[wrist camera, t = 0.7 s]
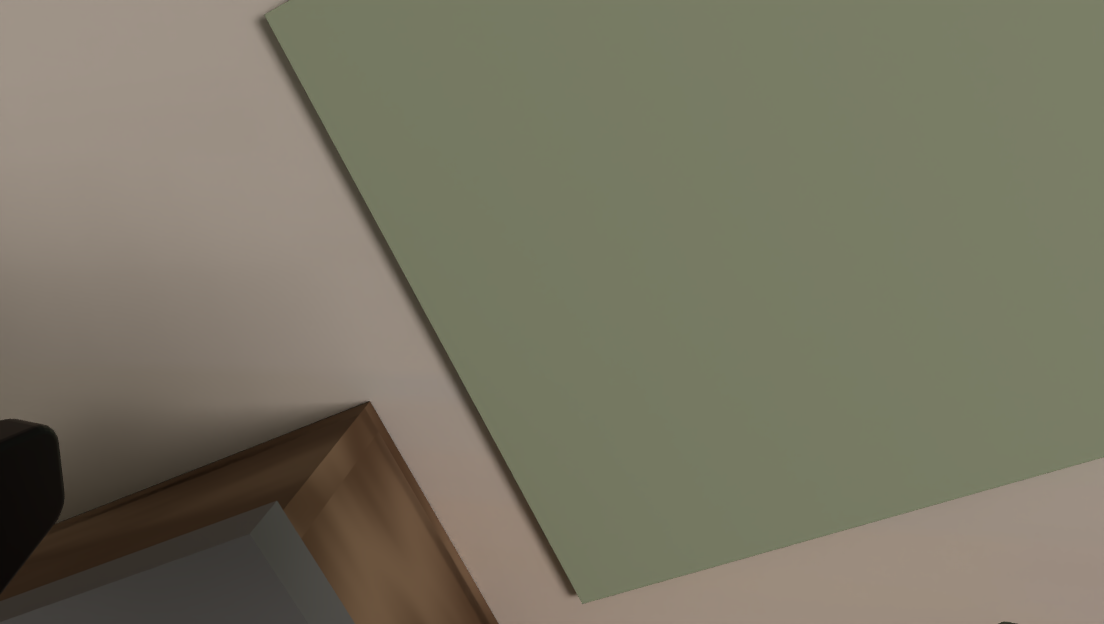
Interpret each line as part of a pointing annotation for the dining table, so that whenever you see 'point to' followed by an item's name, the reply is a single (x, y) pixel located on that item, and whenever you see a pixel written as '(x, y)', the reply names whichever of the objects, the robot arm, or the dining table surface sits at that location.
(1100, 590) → the dining table surface
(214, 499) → the storage box
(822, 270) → the mat
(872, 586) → the dining table surface
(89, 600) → the lid
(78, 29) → the dining table surface
